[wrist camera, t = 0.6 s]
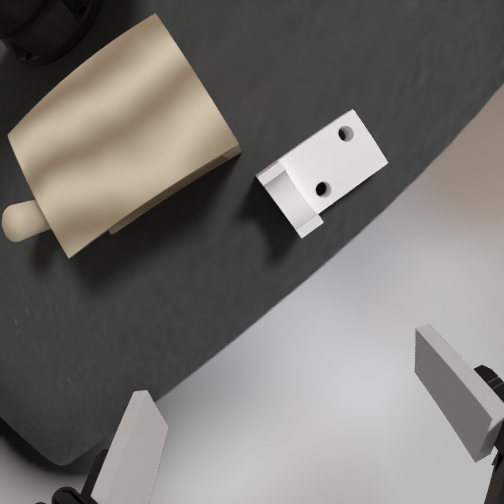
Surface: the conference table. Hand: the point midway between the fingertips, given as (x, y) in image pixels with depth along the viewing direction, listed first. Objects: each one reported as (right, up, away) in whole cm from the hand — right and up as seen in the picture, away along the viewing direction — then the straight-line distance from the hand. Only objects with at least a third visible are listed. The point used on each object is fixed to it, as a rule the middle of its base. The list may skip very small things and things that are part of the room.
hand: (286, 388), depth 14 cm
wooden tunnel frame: (-14, +19, +21) cm, 32 cm away
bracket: (+6, +16, +23) cm, 28 cm away
